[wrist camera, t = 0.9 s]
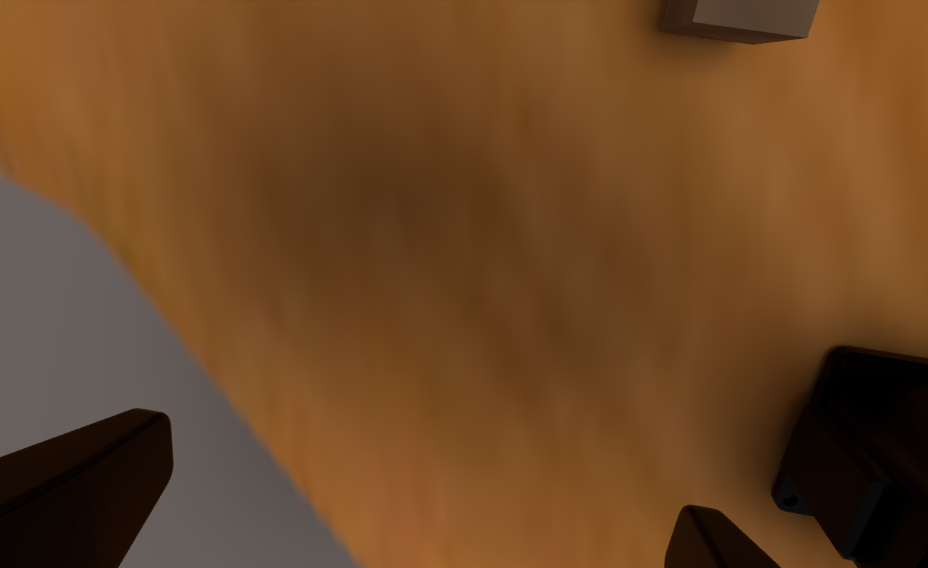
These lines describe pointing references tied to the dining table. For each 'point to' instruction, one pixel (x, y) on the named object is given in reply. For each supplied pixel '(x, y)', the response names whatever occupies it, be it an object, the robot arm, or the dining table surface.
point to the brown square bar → (741, 19)
